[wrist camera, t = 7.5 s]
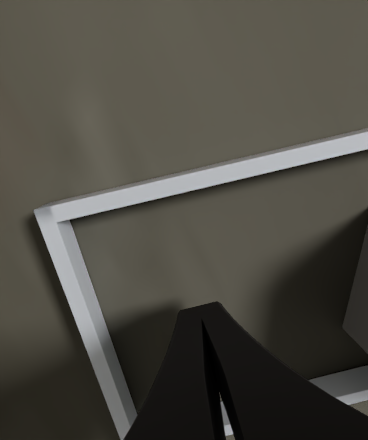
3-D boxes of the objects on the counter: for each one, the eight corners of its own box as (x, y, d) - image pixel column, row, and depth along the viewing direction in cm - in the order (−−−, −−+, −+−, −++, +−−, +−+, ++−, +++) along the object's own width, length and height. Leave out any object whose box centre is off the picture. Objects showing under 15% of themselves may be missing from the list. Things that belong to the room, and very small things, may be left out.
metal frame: (442, 355, 12) (468, 374, 11) (131, 434, 12) (128, 460, 11) (451, 108, 9) (484, 104, 8) (47, 203, 9) (33, 210, 8)
